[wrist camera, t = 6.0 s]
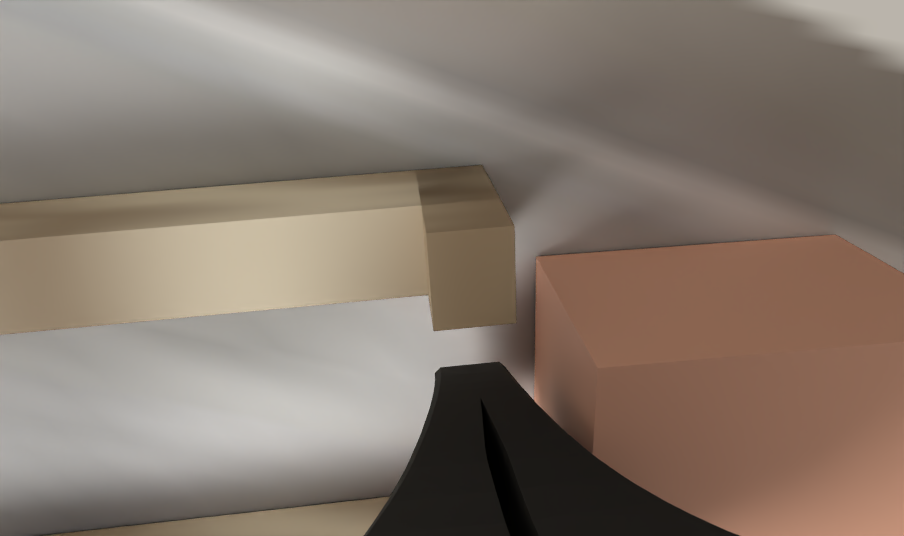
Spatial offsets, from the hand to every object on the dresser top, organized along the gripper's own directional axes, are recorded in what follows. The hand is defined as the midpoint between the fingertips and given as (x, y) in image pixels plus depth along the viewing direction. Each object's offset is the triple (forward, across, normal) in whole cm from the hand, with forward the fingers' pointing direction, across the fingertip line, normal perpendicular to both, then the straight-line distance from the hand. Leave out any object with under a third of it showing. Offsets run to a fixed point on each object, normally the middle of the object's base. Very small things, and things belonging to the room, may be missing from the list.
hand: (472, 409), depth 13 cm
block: (+1, -4, 0) cm, 5 cm away
